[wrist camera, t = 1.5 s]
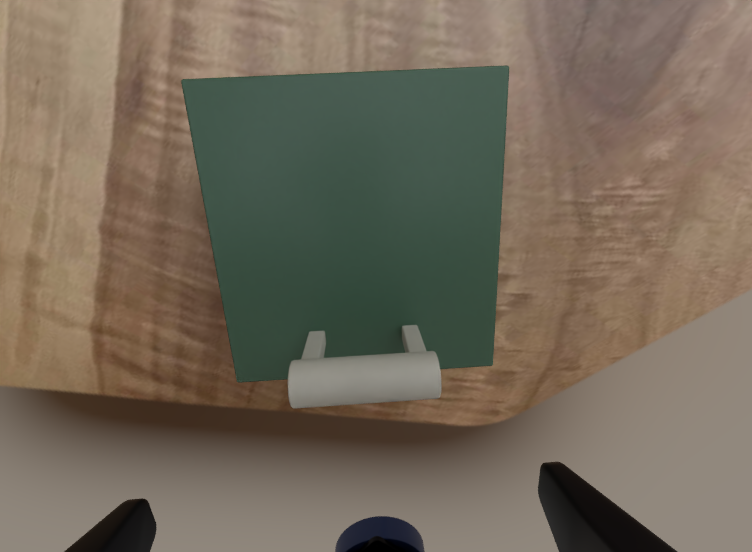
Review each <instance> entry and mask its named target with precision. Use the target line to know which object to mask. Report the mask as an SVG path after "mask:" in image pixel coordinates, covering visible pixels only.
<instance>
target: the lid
mask: <svg viewBox="0 0 752 552" xmlns="http://www.w3.org/2000/svg"><path fill="white" fill-rule="evenodd" d="M508 81H509V66H485V67H462V68H438V69H414V70H391V71H367V72H344V73H320V74H296V75H273V76H249V77H226V78H202V79H183V80H181V83H182V88H183V93H184V99H185V104H186V110H187V115H188V120H189V126H190V131H191V136H192V142H193V147H194V153H195V158H196V163H197V169H198V174H199V180H200V185H201V190H202V196H203V201H204V206H205V212H206V217H207V223H208V228H209V233H210V239H211V244H212V249H213V255H214V260H215V266H216V271H217V276H218V282H219V287H220V293H221V298H222V303H223V309H224V314H225V319H226V325H227V330H228V336H229V341H230V346H231V352H232V357H233V362H234V368H235V373H236V379H237V382H253V381H268V380H283V379H288V396H289V402H290V405H291V407H292V408H307V407H321V406H336V405H351V404H365V403H380V402H394V401H409V400H424V399H438V398H440V395H441V372H440V369H449V368H464V367H479V366H492V365H493V352H494V334H495V316H496V298H497V280H498V262H499V244H500V226H501V208H502V189H503V171H504V153H505V135H506V117H507V99H508Z"/></svg>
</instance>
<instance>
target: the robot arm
mask: <svg viewBox="0 0 752 552" xmlns="http://www.w3.org/2000/svg"><path fill="white" fill-rule="evenodd" d="M538 494H539V498H540V501H541V504H542V507H543V510H544V512H545V515H546V518H547V520H548V523H549V526H550V528H551V531H552V534H553V536H554V539H555V542H556V544H557V547H558V550H559V552H677V551H676V550H675V549H673V548H672V547H671V546H669V545H668V544H667V543H665V542H664V541H663V540H661V539H660V538H659V537H657V536H656V535H655V534H654V533H652V532H651V531H650V530H648V529H647V528H646V527H645V526H643V525H642V524H641V523H639V522H638V521H637V520H635V519H634V518H633V517H631V516H630V515H629V514H628V513H626V512H625V511H624V510H622V509H621V508H620V507H619V506H617V505H616V504H615V503H613V502H612V501H611V500H609V499H608V498H607V497H606V496H604V495H603V494H602V493H600V492H599V491H598V490H596V489H595V488H594V487H593V486H591V485H590V484H589V483H587V482H586V481H585V480H583V479H582V478H581V477H580V476H578V475H577V474H576V473H574V472H573V471H572V470H570V469H569V468H568V467H566V466H565V465H564V464H562V463H560V462H549V463H543V464H542V465H541V468H540V476H539V485H538ZM155 534H156V522H155V519H154V516H153V514H152V511H151V508H150V505H149V503H148V501H147V500H146V499H132V500H127V501H125V502H123V503H122V504H120V505H119V506H118V507H117V508H116V509H115V510H113V511H112V512H111V513H110V514H109V515H107V516H106V517H105V518H104V519H103V520H102V521H100V522H99V523H98V524H97V525H95V526H94V527H93V528H92V529H91V530H90V531H89V532H87V533H86V534H85V535H84V536H82V537H81V538H80V539H79V540H78V541H76V542H75V543H74V544H73V545H72V546H70V547H69V548H68V549H67V550H66V551H65V552H150V550H151V547H152V544H153V541H154V538H155ZM357 552H406V551H404V550H403V549H401V548H399V547H398V546H396V545H394V544H392V543H391V542H389V541H387V540H385V539H384V538H382V537H380V536H374V537H372V538H371V539H370V540H369V541H368V542H367V543H366V544H365V545H364V546H363V547H362V548H361V549H360V550H359V551H357Z"/></svg>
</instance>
